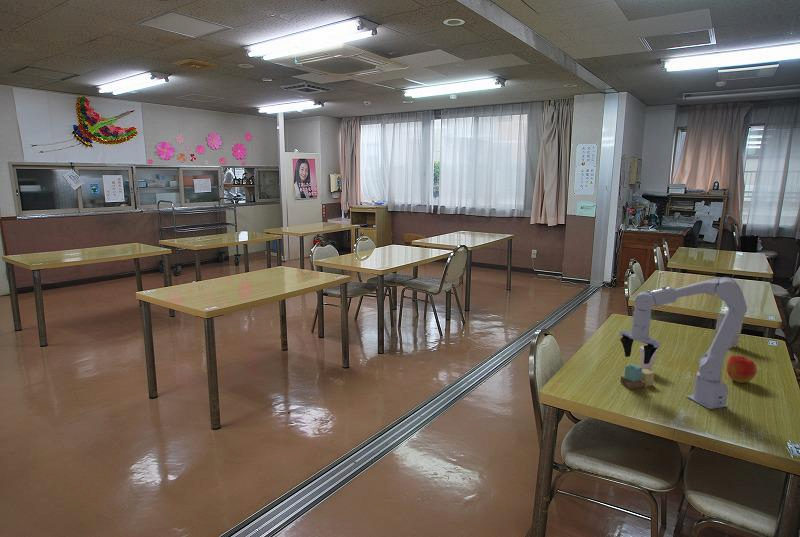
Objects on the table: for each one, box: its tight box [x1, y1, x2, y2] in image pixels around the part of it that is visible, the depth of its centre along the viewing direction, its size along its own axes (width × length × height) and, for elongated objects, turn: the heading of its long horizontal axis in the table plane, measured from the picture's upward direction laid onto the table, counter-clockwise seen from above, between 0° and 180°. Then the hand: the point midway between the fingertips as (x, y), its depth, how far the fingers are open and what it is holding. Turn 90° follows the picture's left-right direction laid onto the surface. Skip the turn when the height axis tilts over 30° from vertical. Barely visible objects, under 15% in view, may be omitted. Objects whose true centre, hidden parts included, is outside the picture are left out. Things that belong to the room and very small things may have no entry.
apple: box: [726, 355, 758, 384], centre depth 181 cm, size 10×10×10 cm
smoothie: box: [639, 344, 658, 371], centre depth 189 cm, size 6×6×14 cm
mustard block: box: [641, 369, 655, 387], centre depth 178 cm, size 4×4×5 cm
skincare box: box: [712, 310, 745, 349], centre depth 220 cm, size 8×7×16 cm
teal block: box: [624, 363, 642, 382], centre depth 175 cm, size 4×4×5 cm
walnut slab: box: [620, 375, 646, 391], centre depth 176 cm, size 6×6×3 cm
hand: (636, 359), depth 174 cm, fingers open, 7 cm apart
